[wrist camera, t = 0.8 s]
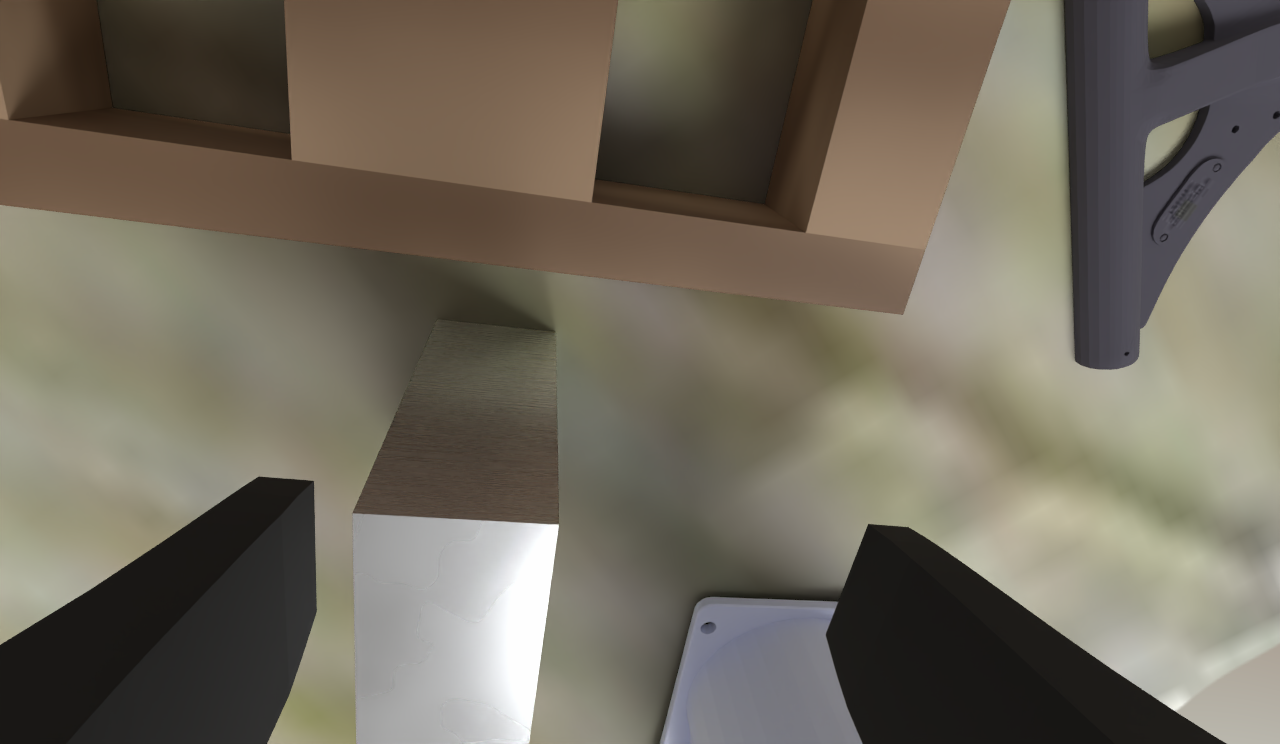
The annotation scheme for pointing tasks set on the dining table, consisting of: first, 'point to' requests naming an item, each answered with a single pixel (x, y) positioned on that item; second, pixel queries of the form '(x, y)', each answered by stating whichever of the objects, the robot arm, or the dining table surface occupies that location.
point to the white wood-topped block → (459, 543)
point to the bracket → (1116, 140)
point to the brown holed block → (515, 144)
